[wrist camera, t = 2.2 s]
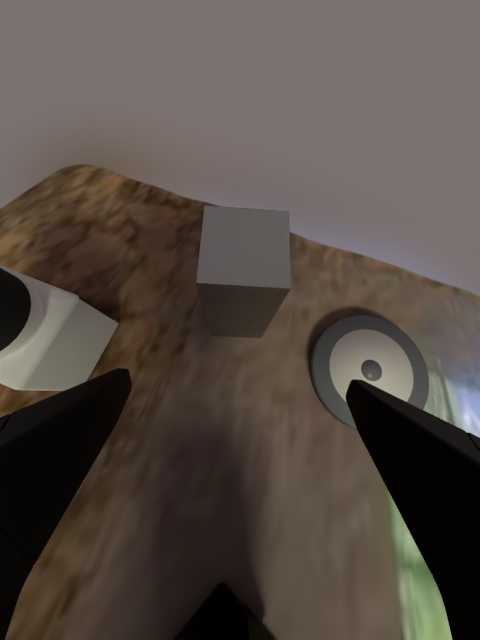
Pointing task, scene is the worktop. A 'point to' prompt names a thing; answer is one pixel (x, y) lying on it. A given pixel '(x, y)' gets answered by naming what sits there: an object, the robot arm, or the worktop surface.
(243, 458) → the worktop surface
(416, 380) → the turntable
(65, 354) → the medicine bottle
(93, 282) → the worktop surface
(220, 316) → the block
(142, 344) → the worktop surface
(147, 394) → the worktop surface
